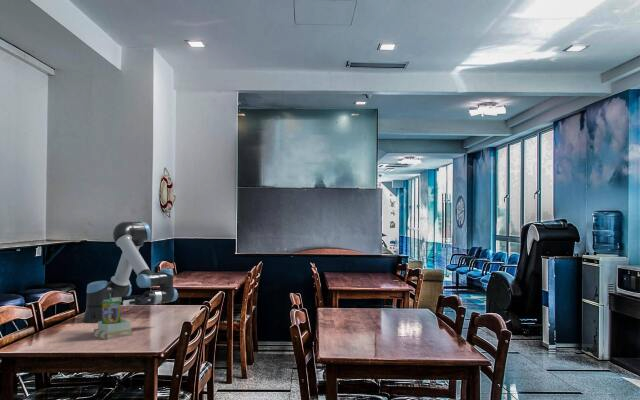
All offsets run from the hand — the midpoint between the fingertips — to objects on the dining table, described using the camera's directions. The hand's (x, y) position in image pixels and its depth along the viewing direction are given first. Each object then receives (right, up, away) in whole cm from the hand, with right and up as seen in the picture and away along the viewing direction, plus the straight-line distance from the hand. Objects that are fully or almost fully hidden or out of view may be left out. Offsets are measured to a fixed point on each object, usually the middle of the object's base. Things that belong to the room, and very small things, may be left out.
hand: (116, 302), depth 282 cm
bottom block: (-1, -18, -1) cm, 18 cm away
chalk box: (-2, -10, -2) cm, 11 cm away
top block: (-1, -14, -1) cm, 14 cm away
